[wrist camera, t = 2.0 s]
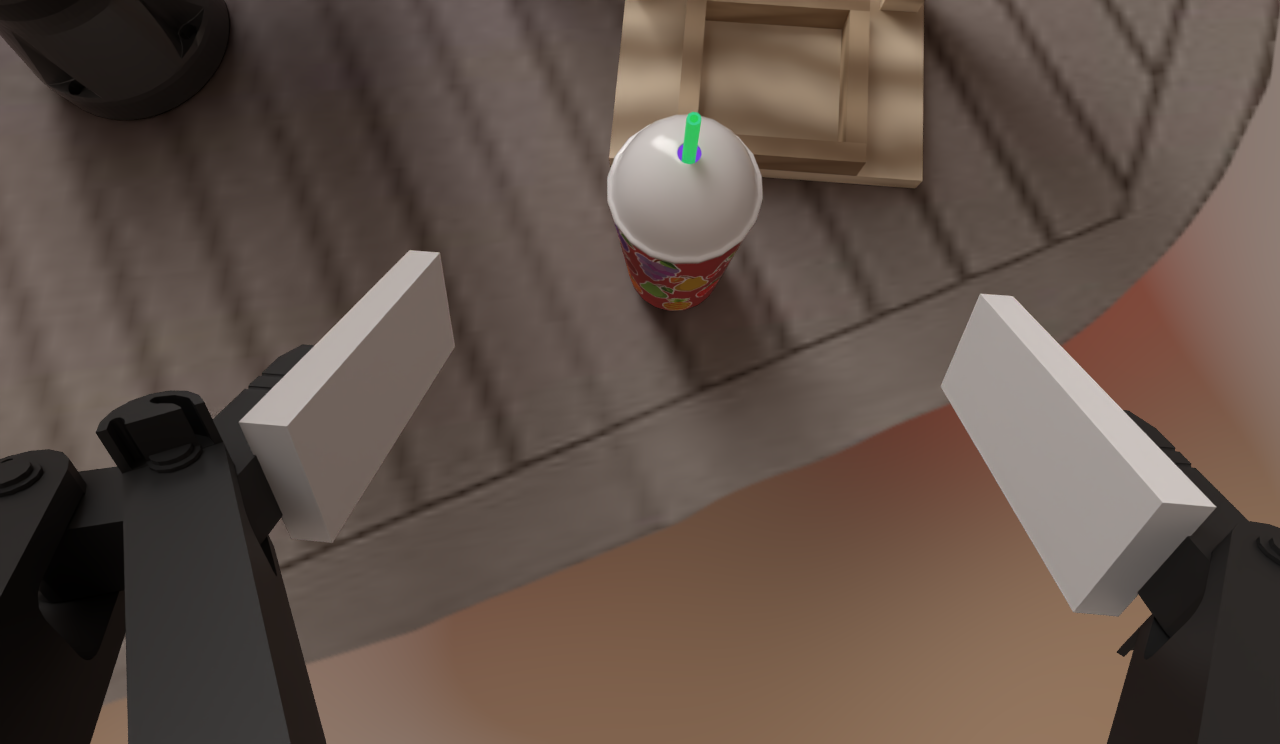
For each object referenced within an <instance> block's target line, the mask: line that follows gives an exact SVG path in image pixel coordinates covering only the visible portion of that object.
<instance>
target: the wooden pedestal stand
mask: <svg viewBox="0 0 1280 744" xmlns="http://www.w3.org/2000/svg"><path fill="white" fill-rule="evenodd" d="M924 1H925V0H625V8H624V18H623V28H622V37H621V47H620V57H619V67H618V76H617V86H616V96H615V106H614V115H613V125H612V135H611V145H610V154H609V161H610V166H612V163H613V160H614V157H615V156H616V154H617V153H618V152H619V150H620V149H621V148H622V146H623V145H624V144H625V142H626V141H627V140H628V139H629V138H630V137H631V136H633V135H634V134H636V133H637V132H639V131H640V130H641V129H643V128H644V127H646V126H647V125H649V124H652V123H653V122H655V121H657V120H660V119H663V118H666V117H669V116H672V115H685V114H689V113H691V112H697V113H699V114H700V115H701V116H703V117H707V118H710V119H714V120H716V121H718V122H719V123H721V124H722V125H724V126H725V127H727V128H729V129H730V130H732V131H733V133H734V134H735V135H737V136H738V137H739V138H740V139H741V140H742V141H743V143H744V144H745V145H746V146H747V147H748V148H749V150H750V151H751V152H752V153H753V154H754V157H755V159H756V162H757V165H758V167H759V170H760V172H761V175H762V177H768V178H782V179H795V180H809V181H822V182H836V183H849V184H863V185H876V186H890V187H904V188H916V187H917V186H918V185H919V184H920V183H921V182H922V179H923V59H924Z"/></svg>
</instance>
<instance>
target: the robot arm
mask: <svg viewBox="0 0 1280 744" xmlns="http://www.w3.org/2000/svg"><path fill="white" fill-rule="evenodd" d="M0 35H1V37H2V38H3V39H4V40H5V41H6V42H7V43H8V44H9V45H10V47H11V48H12V49H13V50H14V51H15V52H16V53H17V54H18V56H19V57H20V58H21V59H22V60H23V61H24V62H25V63H26V65H27V66H28V67H29V68H30V69H31V70H32V71H33V72H34V74H35V75H36V76H37V77H38V78H39V79H40V80H41V81H42V82H43V83H44V84H45V85H47V86H48V87H49V88H50V89H52V90H53V91H54V92H56V93H57V94H59V95H60V96H62V97H64V98H65V99H67V100H68V101H70V102H71V103H73V104H75V105H76V106H78V107H79V108H81V109H83V110H85V111H86V112H89V113H91V114H94V115H97V116H100V117H104V118H109V119H117V120H133V119H141V118H147V117H151V116H154V115H158V114H161V113H163V112H166V111H168V110H170V109H172V108H174V107H176V106H178V105H180V104H181V103H183V102H185V101H186V100H188V99H189V98H190V97H192V96H193V95H194V94H195V93H197V92H198V91H199V90H200V89H201V88H202V87H203V86H204V85H205V84H206V83H207V81H208V80H209V79H210V78H211V76H212V75H213V74H214V72H215V71H216V69H217V67H218V66H219V64H220V62H221V60H222V57H223V55H224V52H225V49H226V46H227V42H228V36H229V17H228V11H227V8H226V5H225V2H224V0H0ZM454 347H455V344H454V337H453V331H452V325H451V319H450V312H449V306H448V300H447V293H446V287H445V281H444V275H443V268H442V262H441V256H440V253H439V252H426V251H413V250H409V251H408V252H407V253H406V254H405V255H404V256H403V257H402V258H401V259H400V260H399V261H398V262H397V263H396V264H395V265H394V266H393V267H392V268H391V269H390V270H389V271H388V272H387V273H386V274H385V275H384V276H383V277H382V278H381V279H380V280H379V281H378V282H377V283H376V284H375V285H374V286H373V287H372V288H371V289H370V290H369V291H368V292H367V293H366V294H365V296H364V297H363V298H362V299H361V300H360V301H359V302H358V303H357V304H356V305H355V306H354V307H353V308H352V309H351V310H350V311H349V312H348V313H347V314H346V315H345V316H344V317H343V318H342V319H341V320H340V321H339V322H338V323H337V324H336V325H335V326H334V327H333V328H332V329H331V330H330V331H329V332H328V333H327V334H326V335H325V336H324V337H323V338H322V339H321V340H320V341H319V342H318V343H317V344H316V345H315V346H314V345H301V346H299V347H297V348H295V349H293V350H291V351H289V352H288V353H286V354H284V355H282V356H280V357H278V358H277V359H276V360H275V361H274V362H273V363H272V364H271V365H270V366H269V367H268V368H267V369H266V370H265V371H263V372H262V376H258V377H257V378H256V379H255V380H254V381H253V382H252V383H251V384H250V385H249V388H248V389H244V390H243V391H242V392H241V393H240V394H239V395H238V396H237V397H236V398H235V399H234V400H233V401H232V402H231V403H230V404H229V405H227V406H226V407H225V408H224V409H223V410H222V411H221V412H220V413H219V414H218V415H217V416H216V417H215V418H214V419H212V417H211V415H210V413H209V411H208V409H207V407H206V405H205V403H204V401H203V400H202V399H201V397H200V396H199V395H198V394H195V393H192V392H189V391H165V392H159V393H154V394H149V395H146V396H143V397H140V398H138V399H135V400H132V401H129V402H128V403H126V404H124V405H122V406H120V407H118V408H117V409H115V410H113V411H112V412H111V413H109V414H108V415H107V416H106V417H105V418H104V419H103V420H102V421H101V422H100V424H99V426H98V428H97V431H96V434H97V435H98V437H99V438H100V440H101V442H102V443H103V445H104V446H105V448H106V449H107V451H108V453H109V454H110V456H111V457H112V459H113V460H114V462H115V463H116V465H117V467H111V468H103V469H96V470H88V471H81V472H78V471H77V469H76V468H75V467H74V465H73V464H72V462H71V461H70V459H69V458H68V457H67V456H66V455H65V454H64V453H63V452H59V451H54V450H49V449H48V450H36V451H28V452H24V453H20V454H17V455H11V456H8V457H5V458H2V459H0V744H90V742H91V739H92V736H93V733H94V730H95V726H96V723H97V720H98V717H99V714H100V711H101V708H102V705H103V701H104V698H105V695H106V692H107V689H108V686H109V683H110V679H111V676H112V673H113V670H114V667H115V664H116V661H117V658H118V654H119V651H120V648H121V645H122V642H123V639H124V636H125V632H126V664H127V707H128V744H326V740H325V736H324V733H323V729H322V725H321V721H320V717H319V714H318V710H317V706H316V703H315V699H314V695H313V691H312V688H311V684H310V680H309V676H308V673H307V669H306V665H305V661H304V658H303V654H302V650H301V646H300V643H299V639H298V635H297V631H296V628H295V624H294V620H293V616H292V613H291V609H290V605H289V601H288V598H287V594H286V590H285V586H284V583H283V579H282V575H281V571H280V568H279V564H278V560H277V557H276V553H275V549H274V546H273V544H272V542H271V540H270V537H269V535H268V534H269V533H270V532H271V530H272V529H273V528H274V526H275V525H276V524H277V522H278V521H279V520H280V518H281V517H282V520H283V522H284V524H285V526H286V528H287V531H288V533H289V535H290V537H291V539H297V540H308V541H319V542H329V543H333V541H334V540H335V538H336V536H337V535H338V533H339V532H340V530H341V528H342V527H343V525H344V524H345V522H346V520H347V519H348V517H349V516H350V514H351V512H352V511H353V509H354V508H355V506H356V504H357V503H358V501H359V500H360V498H361V496H362V495H363V493H364V492H365V490H366V488H367V487H368V485H369V484H370V482H371V480H372V479H373V477H374V476H375V474H376V472H377V471H378V469H379V468H380V466H381V464H382V463H383V461H384V460H385V458H386V456H387V455H388V453H389V452H390V450H391V448H392V447H393V445H394V444H395V442H396V440H397V439H398V437H399V436H400V434H401V432H402V431H403V429H404V428H405V426H406V424H407V423H408V421H409V420H410V418H411V416H412V415H413V413H414V412H415V410H416V408H417V407H418V405H419V404H420V402H421V400H422V399H423V397H424V396H425V394H426V392H427V391H428V389H429V388H430V386H431V384H432V383H433V381H434V380H435V378H436V376H437V375H438V373H439V372H440V370H441V368H442V367H443V365H444V363H445V362H446V360H447V359H448V357H449V355H450V354H451V352H452V351H453V349H454ZM941 388H942V390H943V391H944V393H945V395H946V396H947V398H948V400H949V401H950V403H951V405H952V407H953V408H954V410H955V412H956V413H957V415H958V417H959V418H960V420H961V422H962V424H963V425H964V427H965V428H966V430H967V432H968V433H969V435H970V437H971V439H972V441H973V442H974V444H975V446H976V447H977V449H978V451H979V452H980V454H981V456H982V458H983V459H984V461H985V463H986V464H987V466H988V468H989V469H990V471H991V473H992V474H993V476H994V478H995V480H996V481H997V483H998V485H999V486H1000V488H1001V490H1002V491H1003V493H1004V495H1005V497H1006V498H1007V500H1008V502H1009V503H1010V505H1011V507H1012V509H1013V510H1014V512H1015V514H1016V515H1017V517H1018V519H1019V521H1020V522H1021V524H1022V525H1023V527H1024V529H1025V530H1026V532H1027V534H1028V536H1029V538H1030V539H1031V541H1032V543H1033V544H1034V546H1035V548H1036V549H1037V551H1038V553H1039V555H1040V556H1041V558H1042V559H1043V561H1044V563H1045V565H1046V566H1047V568H1048V570H1049V572H1050V573H1051V575H1052V576H1053V578H1054V580H1055V582H1056V583H1057V585H1058V587H1059V588H1060V590H1061V592H1062V594H1063V595H1064V597H1065V599H1066V600H1067V602H1068V603H1069V606H1070V607H1071V609H1072V611H1073V612H1077V613H1087V614H1098V615H1109V616H1119V615H1120V614H1121V613H1122V612H1123V611H1124V610H1125V609H1126V608H1127V607H1128V605H1129V604H1130V603H1131V602H1132V601H1133V600H1134V599H1135V598H1136V596H1137V595H1138V594H1139V595H1140V597H1141V598H1142V600H1143V601H1144V603H1145V604H1146V605H1147V607H1148V608H1149V610H1150V611H1151V613H1152V615H1151V616H1150V617H1149V618H1148V619H1147V620H1146V621H1145V622H1144V623H1143V624H1142V625H1141V626H1140V627H1139V628H1138V629H1137V630H1136V632H1135V633H1134V634H1133V635H1132V636H1131V637H1130V638H1129V639H1128V640H1127V641H1126V642H1125V643H1124V644H1123V645H1122V646H1121V648H1120V649H1119V650H1118V651H1117V653H1119V654H1120V655H1122V656H1123V657H1124V656H1125V655H1126V654H1127V653H1128V652H1129V651H1130V650H1134V651H1133V654H1132V658H1131V661H1130V665H1129V668H1128V672H1127V675H1126V679H1125V682H1124V686H1123V689H1122V693H1121V696H1120V700H1119V703H1118V707H1117V711H1116V714H1115V717H1114V721H1113V724H1112V728H1111V731H1110V735H1109V738H1108V742H1107V744H1280V528H1278V527H1275V526H1272V525H1270V524H1264V523H1257V522H1251V521H1250V522H1249V521H1248V520H1247V519H1246V518H1245V517H1244V516H1243V515H1242V514H1241V513H1240V512H1239V511H1238V510H1237V509H1236V508H1235V507H1234V506H1233V505H1232V504H1231V503H1230V502H1229V501H1228V500H1227V499H1226V498H1225V497H1224V496H1223V495H1222V494H1221V493H1220V492H1219V491H1218V490H1217V489H1216V488H1215V487H1214V486H1213V485H1212V484H1211V483H1210V482H1209V481H1208V480H1207V479H1206V478H1205V477H1204V476H1203V475H1202V474H1201V473H1200V472H1199V471H1198V470H1197V469H1196V468H1191V463H1190V462H1189V461H1188V460H1187V459H1186V458H1185V457H1184V456H1183V455H1182V454H1181V453H1180V452H1176V451H1175V447H1174V446H1173V445H1172V444H1171V443H1170V442H1169V441H1168V440H1167V439H1166V438H1165V437H1164V436H1163V435H1162V434H1161V433H1160V432H1159V431H1158V430H1157V429H1156V428H1155V427H1153V426H1151V425H1150V424H1148V423H1147V422H1145V421H1144V420H1142V419H1140V418H1139V417H1138V416H1136V415H1134V414H1133V413H1131V412H1130V411H1127V410H1122V409H1121V408H1120V407H1119V406H1118V405H1117V404H1116V403H1115V402H1114V401H1113V400H1112V398H1111V397H1110V396H1109V395H1108V394H1107V393H1106V392H1105V391H1104V390H1103V389H1102V388H1101V387H1100V386H1099V385H1098V384H1097V383H1096V382H1095V381H1094V380H1093V379H1092V378H1091V377H1090V376H1089V375H1088V374H1087V373H1086V372H1085V371H1084V369H1083V368H1082V367H1080V365H1079V364H1078V363H1077V362H1076V361H1075V360H1074V359H1073V358H1072V357H1071V356H1070V355H1069V354H1068V353H1067V352H1066V351H1065V350H1064V349H1063V348H1062V347H1061V346H1060V345H1059V344H1058V343H1057V341H1056V340H1055V339H1054V338H1053V337H1052V336H1051V335H1050V334H1049V333H1048V332H1047V331H1046V330H1045V329H1044V328H1043V327H1042V326H1041V325H1040V324H1039V323H1038V322H1037V321H1036V320H1035V319H1034V318H1033V317H1032V316H1031V315H1030V314H1029V312H1028V311H1027V310H1026V309H1025V308H1024V307H1023V306H1022V305H1021V304H1020V303H1019V302H1018V301H1017V300H1016V299H1015V298H1014V297H1013V296H1004V295H991V294H980V295H979V298H978V300H977V302H976V305H975V307H974V309H973V312H972V314H971V316H970V319H969V321H968V323H967V326H966V328H965V330H964V333H963V335H962V337H961V340H960V342H959V344H958V347H957V349H956V351H955V354H954V356H953V358H952V361H951V363H950V365H949V368H948V370H947V372H946V375H945V377H944V380H943V382H942V384H941Z"/></svg>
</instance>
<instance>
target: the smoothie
mask: <svg viewBox="0 0 1280 744" xmlns="http://www.w3.org/2000/svg"><path fill="white" fill-rule="evenodd" d="M762 201H763V187H762V175H761V172H760V170H759V167H758V165H757V162H756V159H755V157H754V154H753V153H752V152H751V151H750V150H749V148H748V147H747V146H746V145H745V144H744V143H743V141H742V140H741V139H740V138H739V137H738V136H737V135H735V134H734V133H733V131H732V130H730V129H729V128H727V127H725V126H724V125H722V124H721V123H719V122H718V121H716V120H714V119H710V118H707V117H703V116H701V115H700V114H699V113H697V112H691V113H689V114H685V115H672V116H669V117H666V118H663V119H660V120H657V121H655V122H653V123H652V124H649V125H647V126H646V127H644V128H643V129H641V130H640V131H639V132H637V133H636V134H634V135H633V136H631V137H630V138H629V139H628V140H627V141H626V142H625V144H624V145H623V146H622V148H621V149H620V150H619V152H618V153H617V154H616V156H615V157H614V160H613V163H612V166H611V169H610V171H609V174H608V177H607V202H608V205H609V208H610V210H611V213H612V216H613V219H614V223H615V226H616V230H617V233H618V237H619V240H620V244H621V247H622V251H623V254H624V258H625V261H626V265H627V268H628V272H629V276H630V278H631V281H632V283H633V286H634V288H635V290H636V291H637V292H638V293H639V295H640V296H641V297H642V298H643V299H644V300H645V301H647V302H648V303H650V304H652V305H653V306H655V307H658V308H661V309H665V310H669V311H674V310H686V309H688V308H691V307H694V306H697V305H698V304H700V303H701V302H702V301H704V300H705V299H706V298H707V297H709V295H710V294H711V292H712V291H713V289H714V288H715V286H716V285H717V283H718V281H719V280H720V278H721V276H722V275H723V273H724V271H725V270H726V268H727V266H728V265H729V263H730V261H731V260H732V258H733V256H734V255H735V253H736V251H737V250H738V248H739V246H740V245H741V243H742V241H743V240H744V238H745V236H746V235H747V233H748V232H749V231H750V229H751V228H752V226H753V225H754V224H755V222H756V220H757V217H758V214H759V211H760V207H761V204H762Z"/></svg>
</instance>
